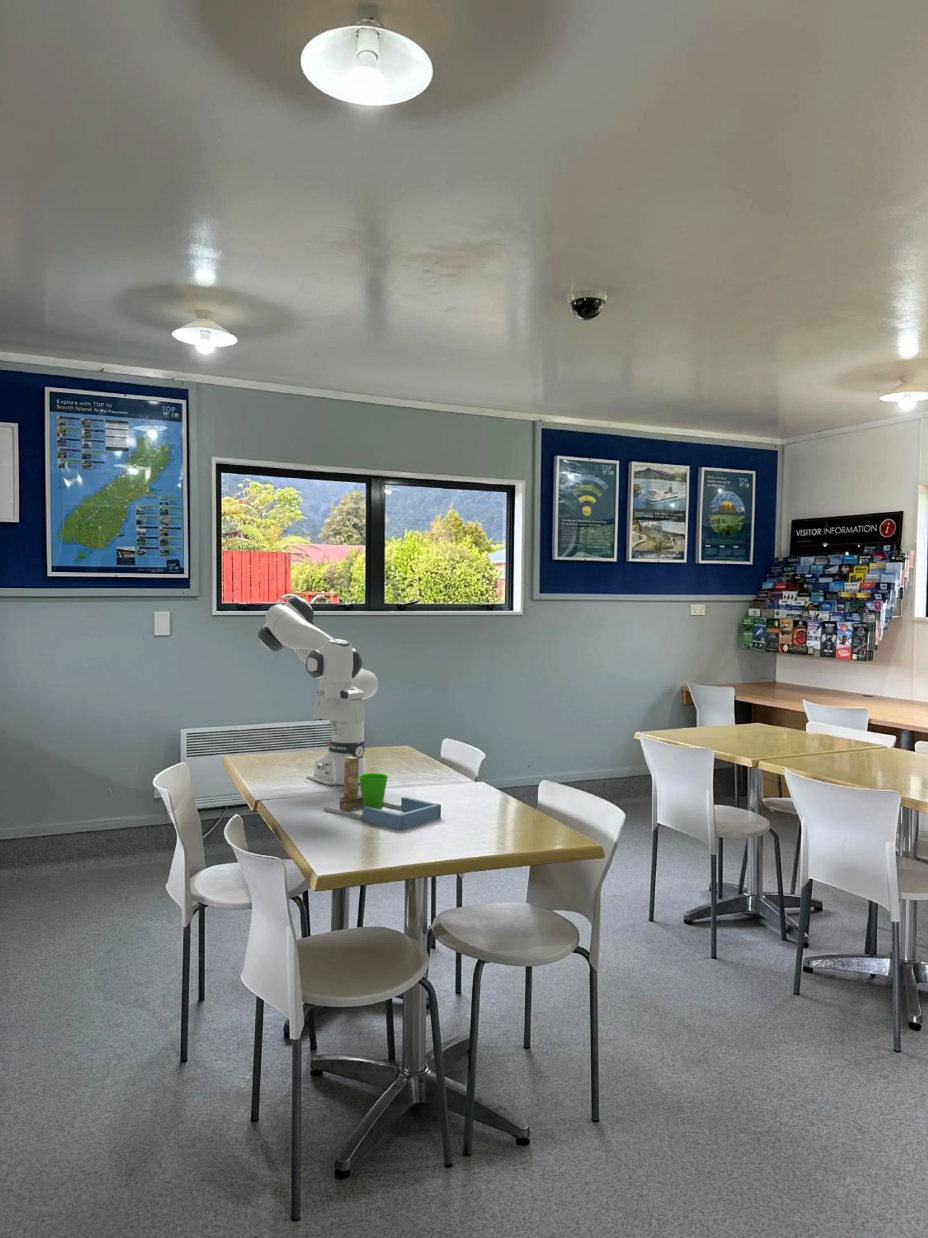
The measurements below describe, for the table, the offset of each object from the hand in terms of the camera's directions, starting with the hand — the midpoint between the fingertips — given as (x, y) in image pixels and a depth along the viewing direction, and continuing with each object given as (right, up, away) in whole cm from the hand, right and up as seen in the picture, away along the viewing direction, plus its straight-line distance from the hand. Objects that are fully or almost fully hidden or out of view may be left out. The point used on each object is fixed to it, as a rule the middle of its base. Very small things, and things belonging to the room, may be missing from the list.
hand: (337, 735), depth 262 cm
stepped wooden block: (+5, -21, -4) cm, 22 cm away
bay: (+21, -22, -17) cm, 35 cm away
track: (+9, -22, -7) cm, 24 cm away
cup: (+12, -22, -9) cm, 27 cm away
